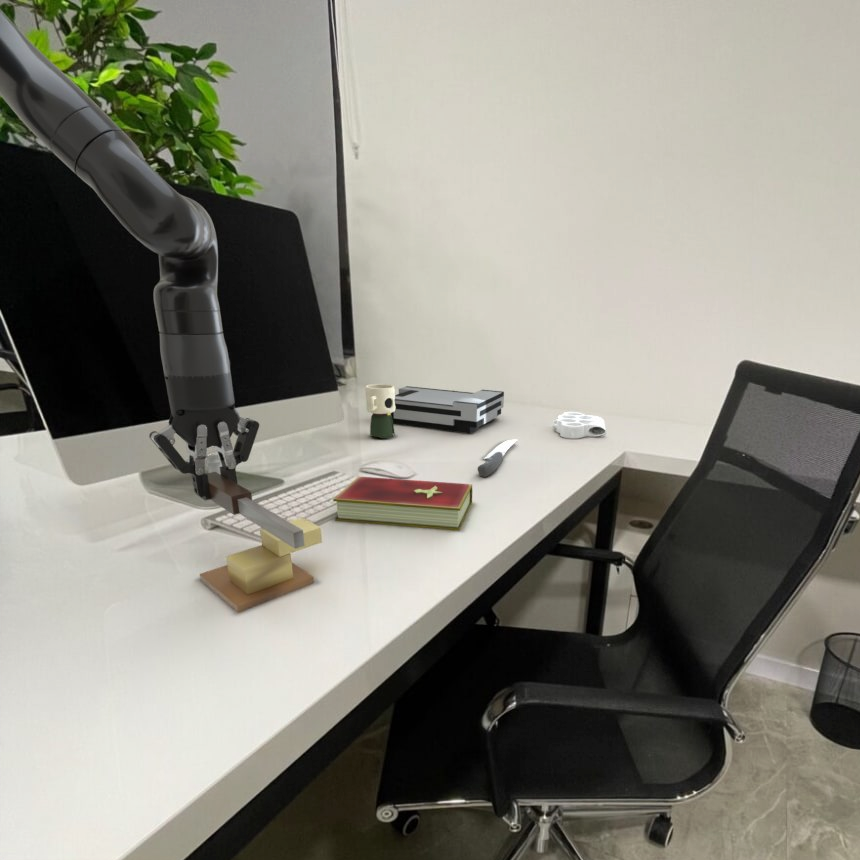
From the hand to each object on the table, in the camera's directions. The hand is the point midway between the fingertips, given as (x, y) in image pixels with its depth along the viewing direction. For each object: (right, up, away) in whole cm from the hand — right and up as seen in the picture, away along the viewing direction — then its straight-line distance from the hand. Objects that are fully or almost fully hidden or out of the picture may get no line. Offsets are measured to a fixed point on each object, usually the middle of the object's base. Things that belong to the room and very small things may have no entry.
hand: (217, 495), depth 76 cm
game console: (+22, +22, +83) cm, 89 cm away
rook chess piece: (-13, +1, +27) cm, 30 cm away
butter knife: (+7, -3, -6) cm, 10 cm away
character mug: (+9, +15, +65) cm, 67 cm away
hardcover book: (+23, -3, +19) cm, 30 cm away
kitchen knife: (+38, +9, +51) cm, 64 cm away
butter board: (+7, -11, -4) cm, 14 cm away
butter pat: (+12, -6, -3) cm, 14 cm away
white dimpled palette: (+61, +18, +77) cm, 100 cm away
